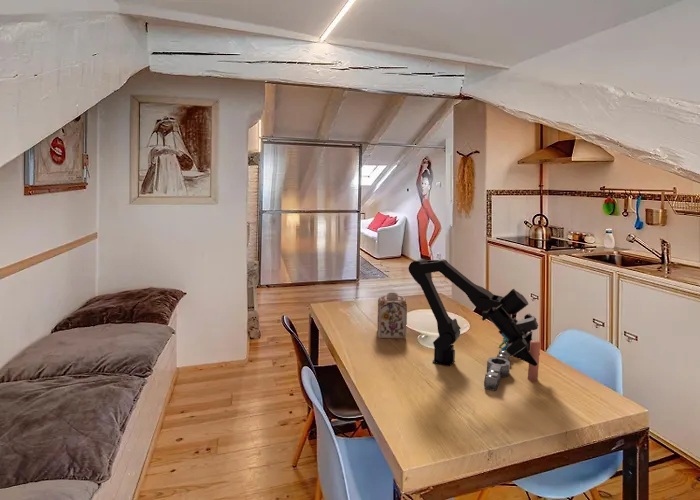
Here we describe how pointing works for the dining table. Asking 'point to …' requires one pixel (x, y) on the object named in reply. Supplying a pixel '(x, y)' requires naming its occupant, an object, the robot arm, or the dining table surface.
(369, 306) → the dining table surface
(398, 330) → the decorative jar
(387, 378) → the dining table surface
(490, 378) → the grey jointed bar
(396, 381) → the dining table surface
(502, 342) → the gear
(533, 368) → the pin
